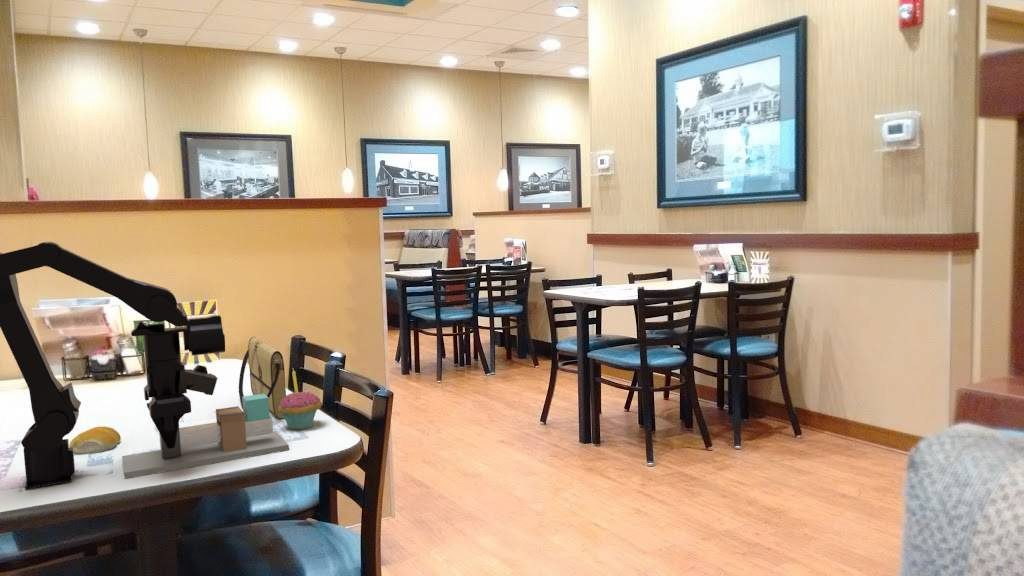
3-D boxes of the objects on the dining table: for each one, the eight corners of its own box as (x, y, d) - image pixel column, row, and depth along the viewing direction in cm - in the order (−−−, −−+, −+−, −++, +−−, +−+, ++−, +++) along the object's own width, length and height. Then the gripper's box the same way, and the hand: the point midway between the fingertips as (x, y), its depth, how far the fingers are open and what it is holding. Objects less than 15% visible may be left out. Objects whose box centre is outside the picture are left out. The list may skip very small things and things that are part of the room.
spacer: (247, 422, 138) (246, 400, 137) (243, 417, 141) (242, 396, 141) (269, 418, 140) (268, 397, 139) (265, 414, 143) (264, 393, 143)
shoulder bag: (232, 399, 182) (228, 338, 181) (262, 395, 186) (258, 335, 184) (256, 426, 156) (251, 355, 155) (290, 420, 160) (285, 351, 158)
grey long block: (162, 458, 131) (159, 418, 131) (160, 453, 135) (157, 413, 134) (274, 440, 140) (271, 402, 140) (269, 435, 144) (267, 398, 143)
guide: (124, 478, 125) (121, 434, 125) (122, 461, 135) (119, 420, 134) (288, 449, 138) (286, 410, 138) (276, 436, 148) (273, 398, 147)
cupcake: (272, 427, 155) (268, 369, 154) (309, 418, 161) (305, 363, 160) (292, 434, 149) (288, 374, 148) (330, 425, 155) (327, 368, 154)
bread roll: (124, 439, 150) (123, 420, 150) (111, 452, 141) (110, 432, 141) (79, 443, 148) (77, 424, 148) (63, 457, 139) (61, 436, 139)
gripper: (219, 360, 128) (226, 449, 129) (205, 346, 144) (211, 426, 146) (147, 369, 122) (154, 462, 124) (140, 353, 139) (147, 436, 140)
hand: (170, 445), depth 133 cm, fingers closed on grey long block, 4 cm apart
